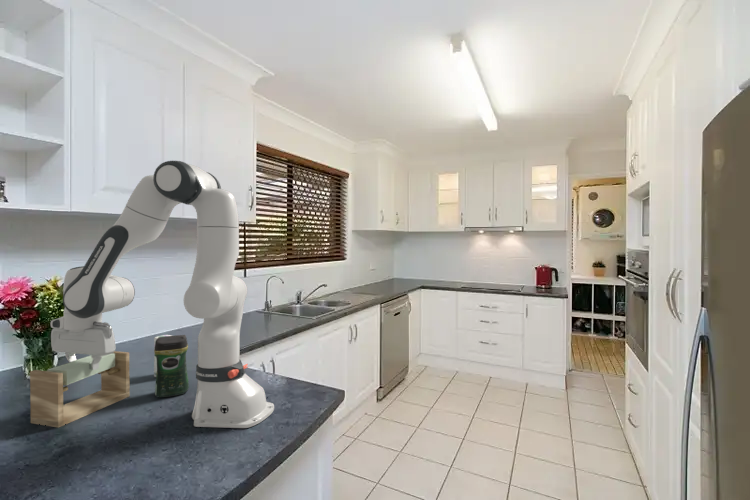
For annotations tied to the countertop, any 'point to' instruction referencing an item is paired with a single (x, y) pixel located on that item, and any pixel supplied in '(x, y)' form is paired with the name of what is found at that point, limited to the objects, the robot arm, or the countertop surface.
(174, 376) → the coffee jar
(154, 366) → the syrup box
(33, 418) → the shelf unit
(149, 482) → the countertop surface
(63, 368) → the shelf board
